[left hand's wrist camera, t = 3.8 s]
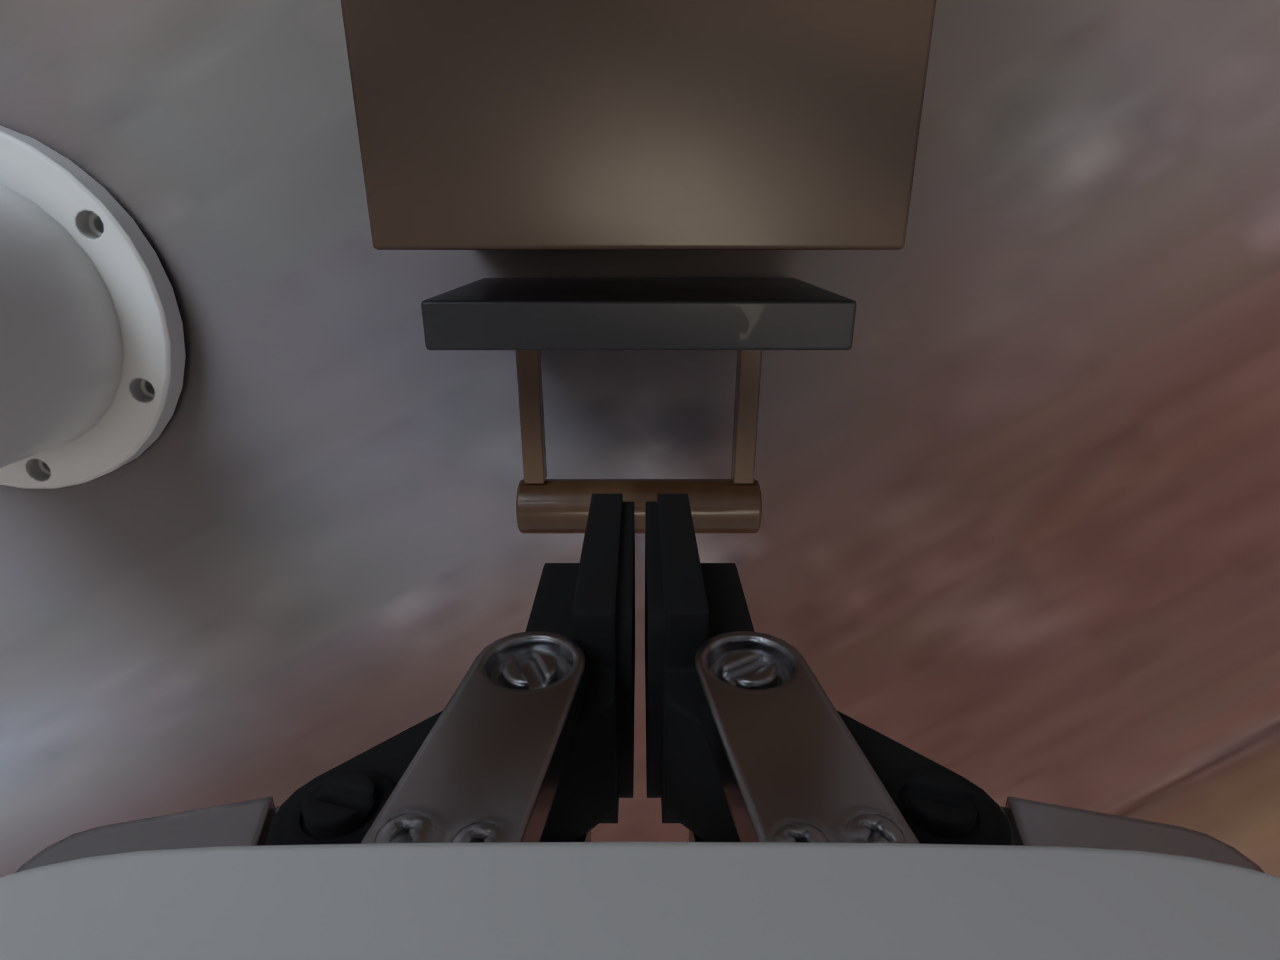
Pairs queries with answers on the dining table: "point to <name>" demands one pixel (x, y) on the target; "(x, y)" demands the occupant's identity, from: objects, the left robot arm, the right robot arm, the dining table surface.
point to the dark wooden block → (638, 122)
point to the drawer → (638, 321)
